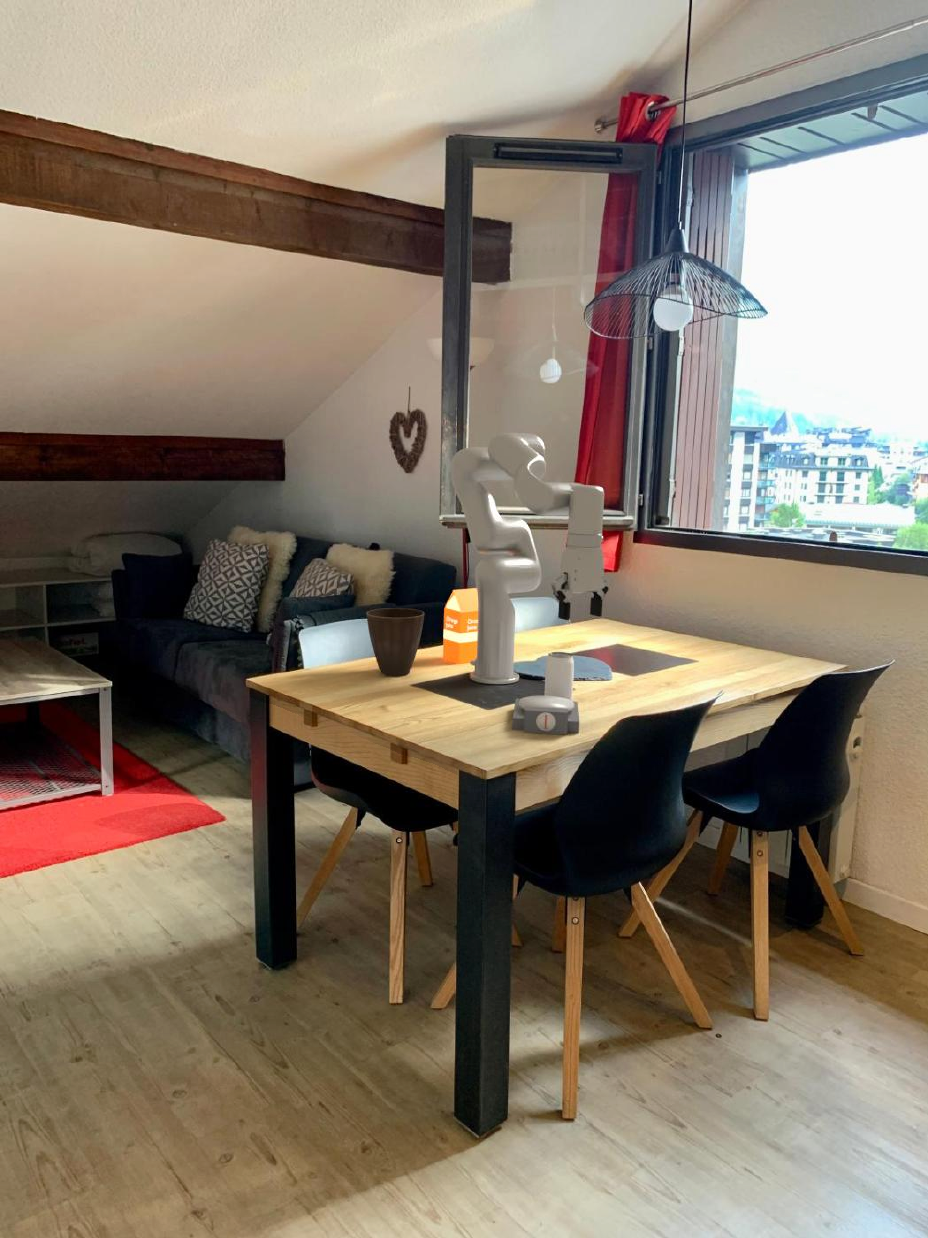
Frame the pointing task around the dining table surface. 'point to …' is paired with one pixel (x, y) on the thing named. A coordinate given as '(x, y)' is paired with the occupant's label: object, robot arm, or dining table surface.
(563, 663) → the can
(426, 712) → the dining table surface
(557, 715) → the scale
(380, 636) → the plant pot
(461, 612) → the orange juice
